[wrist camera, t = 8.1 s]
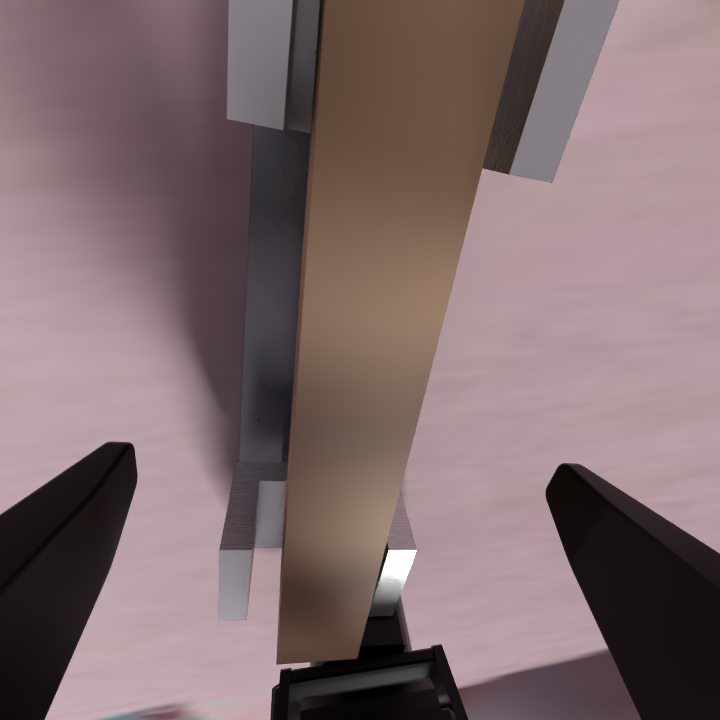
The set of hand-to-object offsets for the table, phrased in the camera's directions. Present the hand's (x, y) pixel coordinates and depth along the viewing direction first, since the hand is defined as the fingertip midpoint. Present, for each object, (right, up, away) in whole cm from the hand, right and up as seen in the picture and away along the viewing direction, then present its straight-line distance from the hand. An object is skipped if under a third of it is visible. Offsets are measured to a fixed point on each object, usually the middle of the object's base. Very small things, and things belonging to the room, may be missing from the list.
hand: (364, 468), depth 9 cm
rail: (-1, +3, +5) cm, 6 cm away
